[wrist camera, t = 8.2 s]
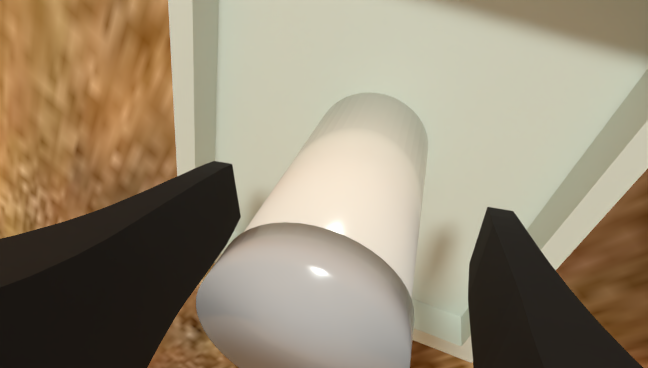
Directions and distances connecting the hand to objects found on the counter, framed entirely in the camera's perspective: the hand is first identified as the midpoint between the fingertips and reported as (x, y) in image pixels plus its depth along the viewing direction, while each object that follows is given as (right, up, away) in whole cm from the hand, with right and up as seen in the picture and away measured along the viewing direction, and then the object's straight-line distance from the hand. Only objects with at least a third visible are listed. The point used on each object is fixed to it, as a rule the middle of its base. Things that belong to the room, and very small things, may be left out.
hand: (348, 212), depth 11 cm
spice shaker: (+1, +2, +3) cm, 4 cm away
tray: (+1, +3, +4) cm, 5 cm away
